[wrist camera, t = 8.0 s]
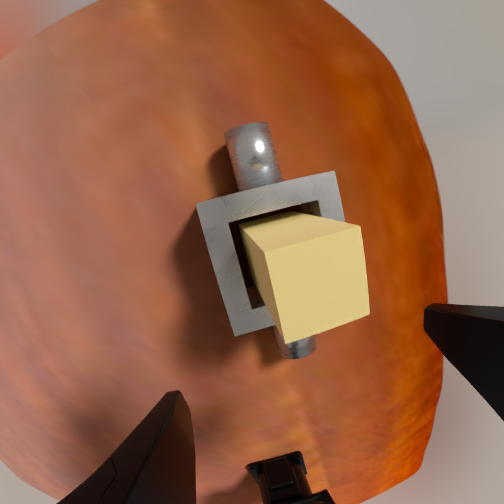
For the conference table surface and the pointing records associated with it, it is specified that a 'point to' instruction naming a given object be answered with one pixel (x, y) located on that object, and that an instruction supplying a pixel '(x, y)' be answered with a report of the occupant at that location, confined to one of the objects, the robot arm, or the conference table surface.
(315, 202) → the bracket head
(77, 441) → the conference table surface
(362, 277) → the butter yellow block
